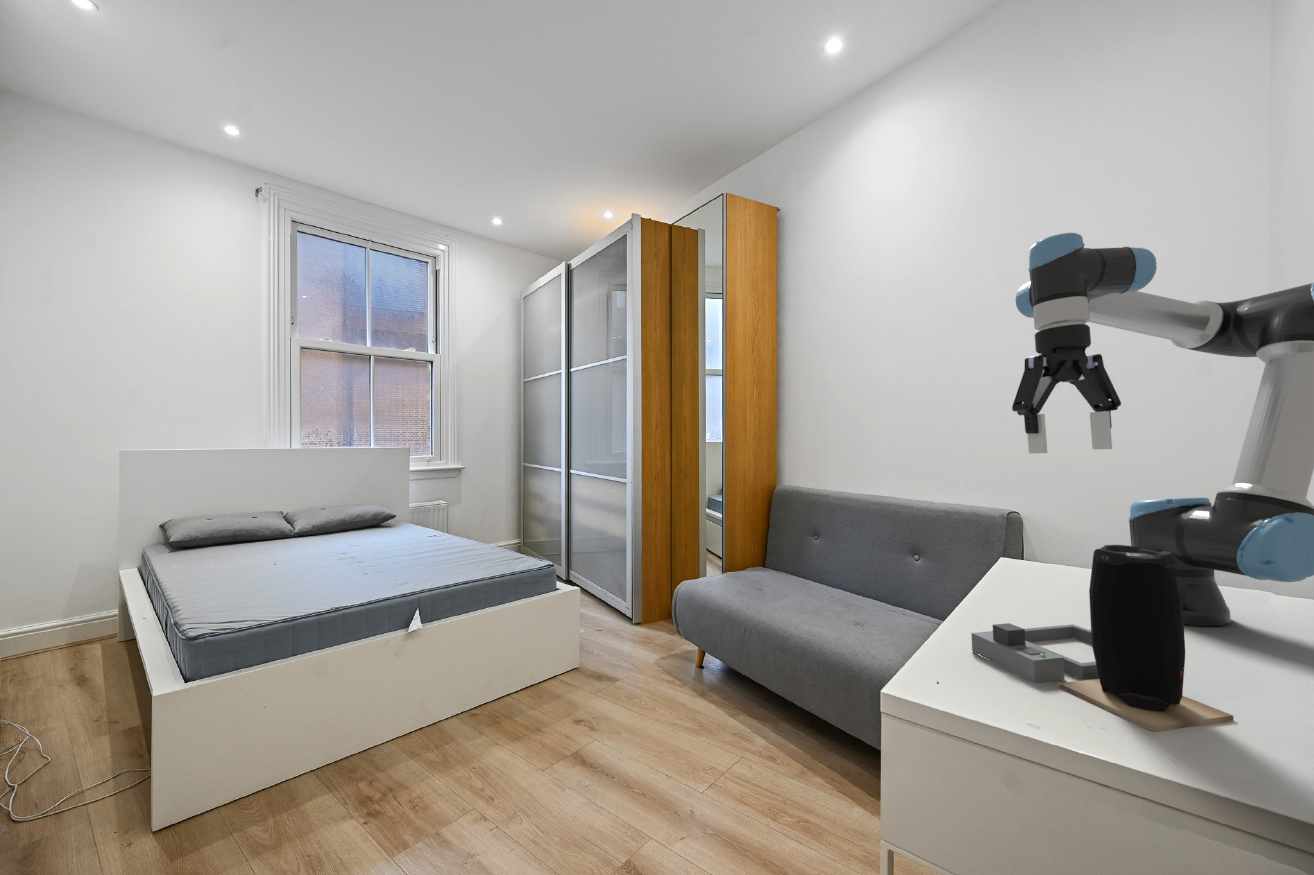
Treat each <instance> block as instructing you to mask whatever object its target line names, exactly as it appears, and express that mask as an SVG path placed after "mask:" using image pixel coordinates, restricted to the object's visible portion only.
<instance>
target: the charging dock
mask: <svg viewBox="0 0 1314 875" xmlns="http://www.w3.org/2000/svg"><path fill="white" fill-rule="evenodd" d="M1024 629H1025V642H1027V643H1029V644H1032V645H1034V646H1037V647H1039V648H1042V649H1044V650H1047V651H1049V652H1051V653H1054V654H1056V655H1059V656H1061V657H1063V658H1064V674H1065V673H1066V674H1068V675H1070V676H1072V677H1075V678H1077V679H1079V680H1080V681H1084V680H1092V679H1099V675H1098V670H1097V666H1096V661H1089V662H1080V661H1078V660H1075V659H1072V658H1069V657H1067V656H1065V655H1063V654H1059V653H1058V652H1055V651H1053V650H1050V649H1048V648H1045V647H1042V646H1040V645H1038V644H1035V642H1037V643H1038V642H1047V641H1048V642H1049V641H1057V640H1067V639H1075V640H1078V641H1081V642H1084V643H1087V644H1089V645H1092V639H1091V629H1087V628H1084V627H1082V626H1079V625H1076V624H1063V625H1054V626H1053V625H1051V626H1042V627H1041V626H1040V627H1030V628H1024Z"/></svg>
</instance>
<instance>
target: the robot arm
mask: <svg viewBox="0 0 1314 875" xmlns="http://www.w3.org/2000/svg"><path fill="white" fill-rule="evenodd" d="M1085 245H1086V244H1085V243H1084V238H1083V236H1082V235H1081V234H1079V233H1076V232H1065V233H1058V234H1053V235H1051V236H1048V237H1045V238H1042V239H1040V240H1039V241H1037V242H1035V243H1033V245H1031V247H1030V248H1029V251H1028V252H1029V254H1028V272H1029V281H1028V282H1026V283H1025V284H1023V285H1022V286H1020V288H1019V289H1018V290H1017V293H1016V294H1015V306H1016V308H1017V310H1018V312H1020V314H1021V315H1023V316H1024V317H1027V318H1030V319H1033V326H1034V328H1033V329H1035V330H1037V331H1036V332H1035V334H1034V343H1035V344H1034V346H1035V347H1034V348H1035V352H1036V353H1037V355H1033V356H1028V357H1025V358H1024V370H1023V372H1022V373H1023V374H1022V377H1021V380H1020V383H1019V386H1018V388H1017V390H1016V394H1015V397H1014V400H1013V403H1012V407H1011V410H1012V411H1013V412H1016V413H1017V415H1018V416H1023V419H1024V422H1023V423H1024V432H1025V433H1026V434H1027V444H1028V445H1027V446H1028V454H1048V442H1047V430H1046V416H1045V413H1040V412H1041V411H1042V408H1044V405H1045V404H1046V402H1047V401H1048V399H1049V397H1050V395H1051V394H1052V393H1053V391H1054V389H1055V388H1056V386H1057V385H1058V384H1059V383H1068V384H1070V385H1073V386H1074V387H1075V388H1076V389H1077V390H1078V391H1079V393H1080V394H1081V396H1082V397H1083V398H1084V400H1085V401H1086V402H1087V404H1088V405H1089V406H1090V407H1091V408H1092V410H1093V412H1089V421H1090V435H1091V448H1092V450H1112V449H1113V442H1112V441H1113V440H1112V426H1113V425H1112V414H1111V413H1112V412H1111V411H1117V410H1118V409H1119V407H1121V406H1122V401H1121V399H1120V397H1119V395H1118V393H1117V391H1116V389H1115V386H1114V385H1113V382H1112V380H1111V378H1110V376H1109V374H1108V373H1107V370H1106V367H1105V366H1104V358H1103V356H1102V354H1101V353H1097V354H1091V355H1087V354H1086V349H1087V348H1089V347H1091V345H1092V341H1091V327H1090V326H1089V325H1088V324H1086V323H1092V324H1096V325H1100V326H1105V327H1110V328H1115V329H1119V330H1124V331H1129V332H1134V333H1138V334H1141V335H1142V334H1143V335H1146V336H1147V335H1148V336H1151V337H1156V338H1160V339H1165V340H1170V341H1171V343H1173V346H1174V345H1175V346H1176V347H1179V348H1181V349H1185V350H1186V349H1187V350H1190V351H1195V352H1201V353H1205V354H1211V355H1212V354H1213V355H1217V356H1225V357H1235V358H1236V357H1237V358H1257V359H1259V361H1262V362H1263V363H1264V364H1265V365H1264V368H1263V371H1262V372H1263V373H1262V375H1261V380H1260V384H1259V386H1258V390H1257V394H1256V398H1255V401H1254V404H1253V409H1252V411H1251V416H1250V418H1249V422H1248V426H1247V429H1246V433H1245V436H1244V440H1243V443H1242V447H1241V451H1240V455H1239V458H1238V462H1237V465H1236V469H1235V473H1234V477H1233V480H1232V483H1231V485H1229V487H1226V488H1223V489H1222V490H1219V491H1217V492H1216V495H1215V498H1214V502H1213V505H1212V503H1211V501H1210V499H1209V498H1207V497H1182V498H1181V497H1178V498H1175V497H1174V498H1158V499H1157V498H1155V499H1140V500H1139V499H1138V500H1135V501H1134V502H1132V503H1131V504H1130V507H1129V517H1128V522H1129V534H1130V546H1136V547H1139V548H1141V549H1145V550H1149V551H1154V552H1162V551H1166V552H1171V558H1173V559H1174V563H1173V564H1172V566H1173V569H1174V573H1175V576H1176V579H1177V583H1178V586H1179V589H1180V593H1181V596H1182V604H1183V621H1184V625H1187V626H1197V627H1199V626H1200V627H1221V626H1228V625H1230V624H1231V623H1232V620H1231V618H1232V617H1231V610H1230V607H1228V605H1227V602H1226V600H1225V598H1224V596H1223V594H1222V591H1221V589H1220V588H1219V586H1218V584H1217V582H1216V577H1215V571H1218V572H1224V573H1225V572H1226V573H1229V574H1234V575H1239V576H1245V577H1250V578H1251V579H1255V580H1260V581H1274V582H1279V583H1296V582H1301V581H1304V580H1305V579H1307V578H1309V577H1313V576H1314V504H1313V503H1311V501H1309V500H1308V498H1307V495H1308V492H1309V488H1310V485H1311V480H1312V478H1313V473H1314V281H1313V282H1311V283H1307V284H1303V285H1299V286H1295V287H1289V288H1287V289H1282V290H1278V291H1275V292H1270V293H1266V294H1262V295H1258V296H1253V297H1250V298H1243V299H1240V300H1233V301H1226V302H1215V301H1211V300H1198V301H1195V302H1190V301H1186V300H1185V301H1184V300H1179V299H1175V298H1170V297H1166V296H1160V295H1156V294H1152V293H1147V292H1142V291H1140V290H1142V289H1145V287H1146V286H1148V285H1149V284H1150V283H1151V281H1152V280H1153V278H1154V277H1155V276H1156V273H1157V268H1158V267H1157V263H1158V262H1157V258H1156V256H1155V254H1154V253H1153V252H1152V251H1151V250H1149V249H1147V248H1144V247H1131V246H1123V247H1105V248H1104V247H1100V248H1098V247H1097V248H1090V247H1085Z"/></svg>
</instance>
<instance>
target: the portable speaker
mask: <svg viewBox="0 0 1314 875" xmlns="http://www.w3.org/2000/svg"><path fill="white" fill-rule="evenodd" d="M1173 563H1174V559H1173V558H1171V552H1166V551H1162V552H1154V551H1149V550H1145V549H1141V548H1139V547H1136V546H1131V545H1125V544H1105V545H1104V546H1101V547H1100V548H1095V549H1094V550H1093V555H1092V564H1091V572H1090V574H1091V575H1090V581H1089V589H1088V590H1089V592H1088V595H1089V612H1090V613H1089V614H1090V615H1089V616H1090V630H1091V639H1092V644H1091V647H1092V651H1093V655H1094V660H1095V661H1094V662H1096V666H1097V670H1098V675H1099V678H1098V679H1100V684H1101V687H1102V691H1111V692H1113V693H1114V694H1116V695H1118V696H1119V697H1120V698H1121V699H1122V700H1123V701H1124V702H1125V703H1126V704H1127V705H1128V706H1130V707H1136V708H1141V709H1146V710H1155V711H1165V710H1166V708H1167V707H1168V706H1169V705H1171V704H1180V700H1181V699H1182V696H1183V692H1184V690H1183V688H1184V677H1185V665H1186V664H1185V663H1186V640H1185V624H1184V621H1183V604H1182V596H1181V593H1180V589H1179V586H1178V583H1177V579H1176V576H1175V573H1174V569H1173V566H1172V564H1173Z"/></svg>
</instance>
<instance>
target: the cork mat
mask: <svg viewBox="0 0 1314 875" xmlns="http://www.w3.org/2000/svg"><path fill="white" fill-rule="evenodd" d="M1058 684H1059V685H1058V686H1059V688H1060V689H1061V690H1064V691H1065V692H1068V693H1070V694H1073V695H1075V696H1077V697H1079V698H1081V699H1083V700H1085V701H1087V702H1090V703H1092V704H1093V705H1095V706H1097V707H1100V708H1102V709H1104V710H1106V711H1108V712H1110V713H1112V714H1114V715H1116V716H1119V717H1121V718H1123V719H1124V720H1127V721H1129V722H1130V723H1131V722H1132V723H1134V724H1136V725H1138V726H1139V727H1142V728H1144V729H1147V730H1149V731H1150V732H1159V731H1164V730H1166V731H1167V730H1173V729H1174V730H1175V729H1180V728H1188V727H1194V726H1203V725H1211V724H1218V723H1224V722H1232V721H1231V720H1233V721H1234V715H1233V714H1231V713H1228V712H1225V711H1223V710H1220V709H1218V708H1215V707H1212V706H1210V705H1207V704H1205V703H1202V702H1200V701H1197V700H1195V699H1192V698H1190V697H1187V696H1185V695H1182V699H1181V700H1180V704H1171V705H1169V706H1168V707H1167V708H1166V710H1165V711H1155V710H1146V709H1141V708H1136V707H1130V706H1128V705H1127V704H1126V703H1125V702H1124V701H1123V700H1122V699H1121V698H1120V697H1119V696H1118V695H1116V694H1114V693H1113V692H1111V691H1102V687H1101V684H1100V679H1099V678H1098V679H1089V680H1078V681H1067V682H1066V681H1065V682H1059V683H1058Z"/></svg>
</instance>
